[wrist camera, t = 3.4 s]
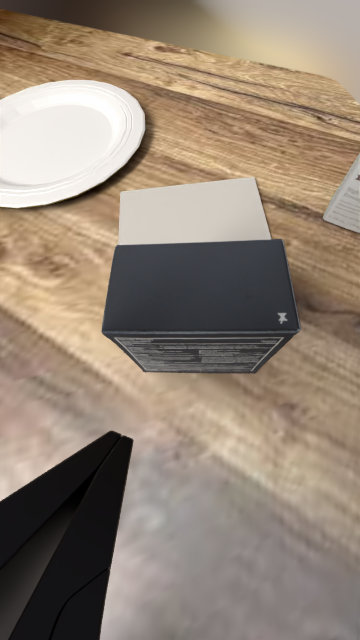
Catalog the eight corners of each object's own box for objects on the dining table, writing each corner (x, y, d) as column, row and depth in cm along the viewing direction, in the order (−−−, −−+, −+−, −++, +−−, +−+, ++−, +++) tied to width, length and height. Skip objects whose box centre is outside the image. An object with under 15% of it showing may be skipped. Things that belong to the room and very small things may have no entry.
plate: (52, 78, 45) (47, 65, 43) (184, 118, 37) (184, 103, 35) (-81, 174, 36) (-95, 162, 35) (55, 251, 29) (46, 240, 27)
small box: (251, 308, 24) (288, 232, 14) (258, 374, 21) (308, 336, 12) (146, 309, 25) (113, 238, 15) (141, 373, 22) (97, 337, 12)
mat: (282, 289, 24) (284, 287, 24) (117, 305, 25) (116, 302, 24) (253, 180, 31) (254, 176, 30) (121, 194, 31) (120, 191, 31)
